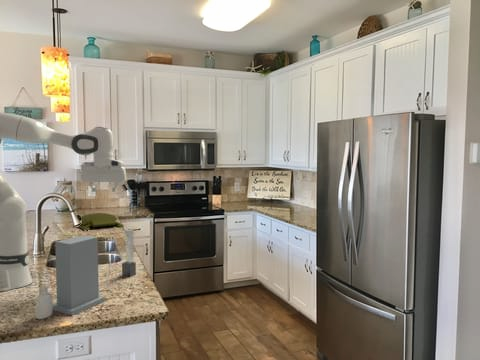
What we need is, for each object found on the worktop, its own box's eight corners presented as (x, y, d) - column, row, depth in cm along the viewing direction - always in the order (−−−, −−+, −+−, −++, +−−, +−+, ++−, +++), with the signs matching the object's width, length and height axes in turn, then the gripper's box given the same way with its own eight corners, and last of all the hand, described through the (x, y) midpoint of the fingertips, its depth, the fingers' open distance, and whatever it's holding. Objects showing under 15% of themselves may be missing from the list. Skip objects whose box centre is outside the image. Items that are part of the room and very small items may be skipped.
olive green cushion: (124, 227, 308) (124, 215, 307) (84, 232, 290) (84, 219, 289) (110, 221, 336) (110, 209, 336) (72, 224, 318) (72, 212, 317)
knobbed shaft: (127, 229, 191) (121, 230, 187) (135, 230, 189) (129, 231, 185) (128, 273, 192) (122, 275, 189) (135, 274, 190) (130, 276, 187)
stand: (84, 295, 162) (82, 233, 160) (105, 300, 157) (104, 237, 155) (50, 309, 148) (48, 241, 146) (72, 315, 142) (70, 245, 140)
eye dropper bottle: (35, 316, 142) (34, 283, 141) (51, 312, 145) (51, 281, 144) (36, 320, 138) (35, 287, 137) (53, 316, 141) (53, 284, 140)
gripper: (78, 162, 177) (79, 192, 178) (124, 162, 178) (124, 192, 179) (83, 161, 184) (83, 190, 185) (127, 162, 185) (127, 191, 186)
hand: (104, 191), depth 182 cm, fingers open, 8 cm apart
